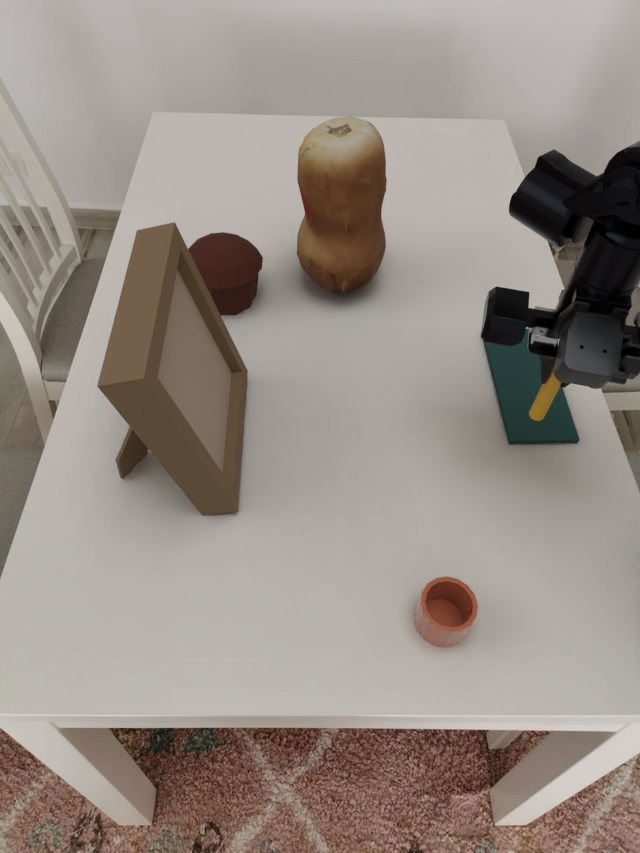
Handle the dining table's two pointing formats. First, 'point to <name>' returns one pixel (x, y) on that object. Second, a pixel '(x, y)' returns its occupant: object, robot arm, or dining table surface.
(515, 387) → the mat
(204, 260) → the muffin
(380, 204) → the butternut squash
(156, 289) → the photo frame
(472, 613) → the pencil cup
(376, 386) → the dining table surface
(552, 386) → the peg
